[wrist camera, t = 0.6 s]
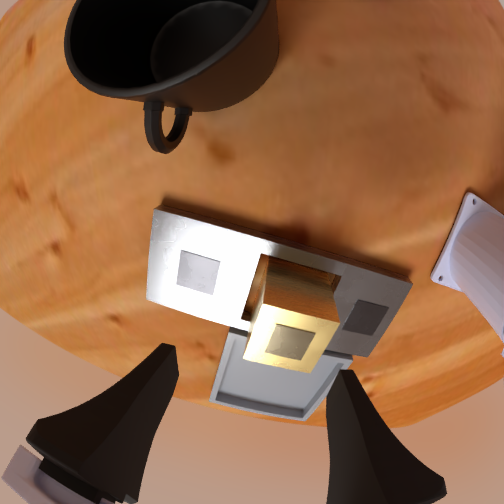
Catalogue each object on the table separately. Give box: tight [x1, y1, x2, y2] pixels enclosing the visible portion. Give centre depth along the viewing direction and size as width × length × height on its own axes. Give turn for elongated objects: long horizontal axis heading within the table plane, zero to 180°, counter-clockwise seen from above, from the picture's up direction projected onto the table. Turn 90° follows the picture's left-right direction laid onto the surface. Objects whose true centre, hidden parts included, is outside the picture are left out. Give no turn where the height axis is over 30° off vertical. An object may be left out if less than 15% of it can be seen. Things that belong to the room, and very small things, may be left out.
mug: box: [64, 0, 279, 154], centre depth 11 cm, size 9×12×9 cm
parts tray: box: [209, 326, 353, 421], centre depth 24 cm, size 11×11×2 cm
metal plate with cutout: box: [146, 205, 413, 357], centre depth 20 cm, size 20×8×1 cm, turn 75°
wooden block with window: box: [243, 257, 340, 373], centre depth 18 cm, size 5×5×6 cm
